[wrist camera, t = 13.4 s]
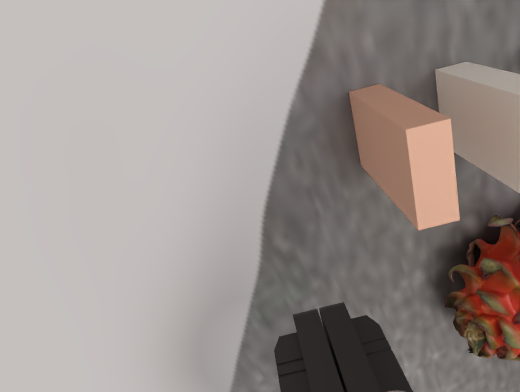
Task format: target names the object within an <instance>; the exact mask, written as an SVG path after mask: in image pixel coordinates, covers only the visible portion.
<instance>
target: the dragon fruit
mask: <svg viewBox="0 0 520 392" xmlns="http://www.w3.org/2000/svg"><path fill="white" fill-rule="evenodd" d="M512 221H513V219H512V218H503V219H502V218H500V217H497V215H495V216H493V217H492V219H491V220H490V221H489V222H488V225H487V226H495V227H501V226H502V227H501V233H500V237H499V240H498V242H497V244H494V245H491V244H488V243H486V242H485V241H483V240H482V239H476V240H475V241H473V242H471V243H470V244H469V250H468V251H467V255H466V257H467V259H468V264H469V265H468V266H467V265H457V266H455V267H453V268H452V269H451V270H450V271H449V273H448V277H449V279H450V281H452V282H453V283H454V278H453V277H452V274H453V272H454V271H457V272H458V273H459V274H460V275H461V276H462V278H463V280H464V281H465V284H466V287H465V288H464V289H462V290H458V291H454V292H452V293H451V294H450V295H449V296H448V297H447V298H446V299H445V307H447V306H448V307H450V308H454V309H456V310H457V311H458V312H457V313H456V314H455V318H454V320H453V325H454V326H455V329H456V330H457V331H458V332H459V334H460V335H461V336H462V337H464V338H467V340H468V345H469V348H470V349H469V351H470V352H469V353H474V354H475V355H476V356H479V357H484V358H491V357H493V356H494V355H495V354H497V356H498V358H499V359H504V360H516V361H520V232H518V230H517V227H516V225H518V223H520V219H519V220H518V221H517V222H516V223H515V225H514V224H513V223H512ZM519 227H520V225H519ZM477 247H479V248H480V250H481V254H480V257H479V259H478V261H477V263H476V265H475V250H476V248H477Z"/></svg>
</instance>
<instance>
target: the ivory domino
mask: <svg viewBox="0 0 520 392" xmlns="http://www.w3.org/2000/svg"><path fill="white" fill-rule="evenodd" d="M435 75H436V85H437V96H438V106H439V113H440V114H442V115H445V116H447V117H449V118H451V127H452V139H453V150H454V153H456V154H457V155H459V156H461V157H462V158H464V159H465V160H467V161H469V162H470V163H472V164H473V165H475V166H477V167H478V168H480V169H481V170H483V171H484V172H486V173H488V174H489V175H491V176H492V177H494V178H496V179H497V180H499V181H500V182H502V183H504V184H505V185H507V186H508V187H510V188H512V189H513V190H515V191H516V192H518V193H520V74H517V73H513V72H509V71H504V70H500V69H496V68H491V67H487V66H483V65H478V64H474V63H470V62H463V63H459V64H455V65H451V66H447V67H443V68H439V69H435Z"/></svg>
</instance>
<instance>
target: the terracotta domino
mask: <svg viewBox="0 0 520 392" xmlns="http://www.w3.org/2000/svg"><path fill="white" fill-rule="evenodd" d="M349 96H350V102H351V108H352V114H353V120H354V126H355V132H356V138H357V144H358V150H359V156H360V162H361V166H362V167H363V168H364V169H365V171H366V172H367V173H368V174H369V175H370V176H371V177H372V178H373V180H374V181H375V182H376V183H377V184H378V185H379V186H380V187H381V189H382V190H383V191H384V192H385V193H386V194H387V195H388V197H389V198H390V199H391V200H392V201H393V202H394V203H395V204H396V206H397V207H398V208H399V209H400V210H401V211H402V212H403V213H404V215H405V216H406V217H407V218H408V219H409V220H410V221H411V222H412V224H413V225H414V226H415V227H416V228H417V229H418V230H422V229H426V228H430V227H434V226H438V225H442V224H446V223H450V222H454V221H458V220H460V216H459V205H458V194H457V183H456V172H455V161H454V150H453V139H452V127H451V118H449V117H447V116H445V115H442V114H440V113H438V112H436V111H434V110H432V109H430V108H428V107H426V106H424V105H422V104H420V103H418V102H416V101H414V100H412V99H410V98H408V97H406V96H404V95H402V94H400V93H398V92H396V91H394V90H392V89H390V88H387V87H385V86H383V85H381V84H377V85H373V86H369V87H365V88H361V89H357V90H354V91H350V92H349Z"/></svg>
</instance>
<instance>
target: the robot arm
mask: <svg viewBox="0 0 520 392" xmlns="http://www.w3.org/2000/svg"><path fill="white" fill-rule="evenodd" d="M319 310H320V315H321V320H322V323H321V320H320V316H319V313H318V310H317V309H314V310H310V311H306V312H302V313H298V314H294V315H293V317H294V321H295V325H296V330H297V332H296V333H292V334H288V335H284V336H280V337H279V339H278V342H277V344H276V347H275V350H274V352H275V358H276V364H277V371H278V376H279V383H280V389H281V392H413V391H412V389H411V387H410V385H409V383H408V381H407V379H406V377H405V375H404V373H403V371H402V369H401V367H400V365H399V363H398V361H397V359H396V357H395V355H394V353H393V351H392V350H391V347H390V345H389V343H388V341H387V340H386V337H385V335H384V333H383V331H382V329H381V327H380V325H379V324H378V323H376V322H375V321H374V320H372V319H371V318H369V317H368V316H367V315H365V316H361V317H357V318H353V319H351V318H350V316H349V313H348V311H347V309H346V306H345V304H344V302H342V303H338V304H334V305H330V306H326V307H322V308H319ZM322 324H323V326H322Z"/></svg>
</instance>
